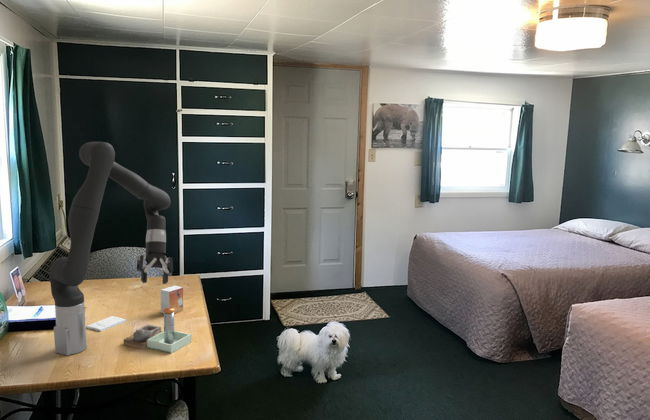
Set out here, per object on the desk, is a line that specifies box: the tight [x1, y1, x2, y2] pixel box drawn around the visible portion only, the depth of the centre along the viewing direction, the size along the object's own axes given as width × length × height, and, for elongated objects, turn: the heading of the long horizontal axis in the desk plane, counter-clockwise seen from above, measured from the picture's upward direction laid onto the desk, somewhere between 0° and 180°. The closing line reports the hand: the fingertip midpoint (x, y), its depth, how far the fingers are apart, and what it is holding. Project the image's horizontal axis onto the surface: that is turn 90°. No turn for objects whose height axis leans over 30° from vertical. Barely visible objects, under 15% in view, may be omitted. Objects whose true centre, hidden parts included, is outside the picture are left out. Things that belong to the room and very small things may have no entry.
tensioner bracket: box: [123, 324, 164, 350], centre depth 189 cm, size 12×9×5 cm
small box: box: [159, 285, 184, 315], centre depth 219 cm, size 8×6×10 cm
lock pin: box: [163, 307, 175, 344], centre depth 185 cm, size 4×4×13 cm
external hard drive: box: [86, 315, 127, 332], centre depth 204 cm, size 2×8×12 cm
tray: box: [146, 330, 192, 354], centre depth 186 cm, size 11×11×3 cm
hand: (154, 283), depth 197 cm, fingers open, 8 cm apart
